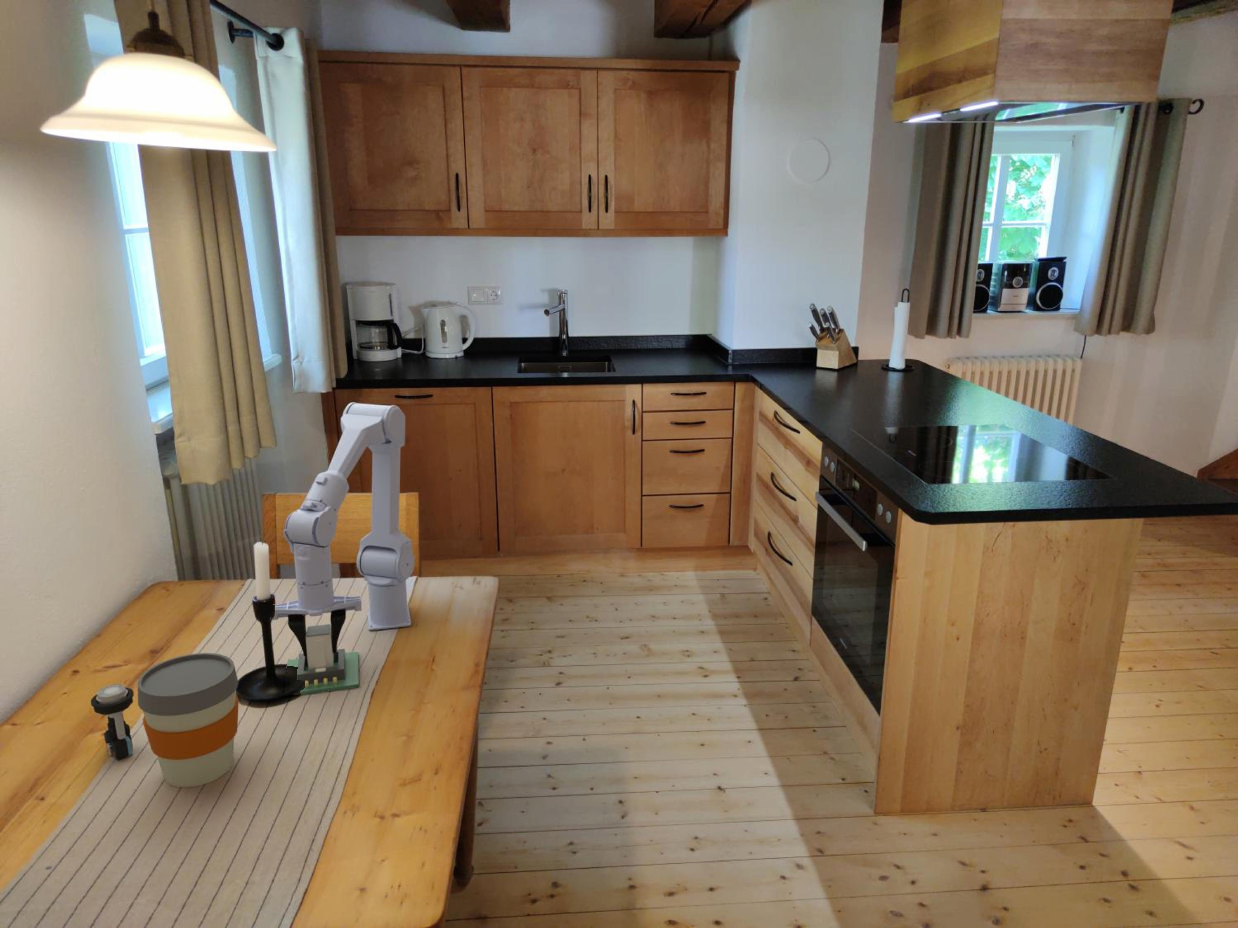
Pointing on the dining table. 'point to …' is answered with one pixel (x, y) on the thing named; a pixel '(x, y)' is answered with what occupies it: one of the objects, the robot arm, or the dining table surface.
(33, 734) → the dining table surface
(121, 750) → the push button
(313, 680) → the header socket
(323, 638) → the plug
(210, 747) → the reusable coffee cup
